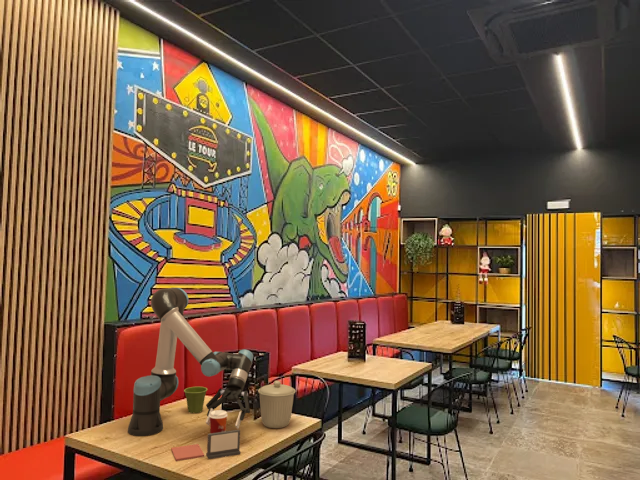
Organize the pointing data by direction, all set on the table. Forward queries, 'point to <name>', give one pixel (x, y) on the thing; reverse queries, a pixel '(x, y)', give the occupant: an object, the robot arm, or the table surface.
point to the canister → (276, 404)
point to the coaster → (187, 452)
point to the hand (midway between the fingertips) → (222, 425)
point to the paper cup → (218, 421)
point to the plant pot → (195, 398)
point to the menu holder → (223, 444)
